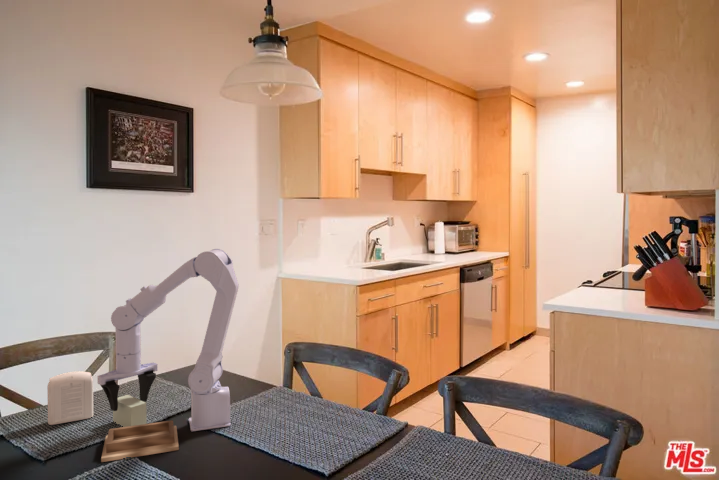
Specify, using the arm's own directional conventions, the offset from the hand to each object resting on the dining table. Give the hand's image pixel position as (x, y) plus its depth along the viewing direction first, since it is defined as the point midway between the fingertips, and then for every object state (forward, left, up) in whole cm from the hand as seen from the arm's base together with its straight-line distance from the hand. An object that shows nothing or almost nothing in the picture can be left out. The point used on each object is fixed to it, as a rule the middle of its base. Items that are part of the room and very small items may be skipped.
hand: (129, 405), depth 129 cm
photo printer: (+14, -8, -5) cm, 17 cm away
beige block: (0, 0, -5) cm, 5 cm away
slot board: (-3, +13, -5) cm, 14 cm away
